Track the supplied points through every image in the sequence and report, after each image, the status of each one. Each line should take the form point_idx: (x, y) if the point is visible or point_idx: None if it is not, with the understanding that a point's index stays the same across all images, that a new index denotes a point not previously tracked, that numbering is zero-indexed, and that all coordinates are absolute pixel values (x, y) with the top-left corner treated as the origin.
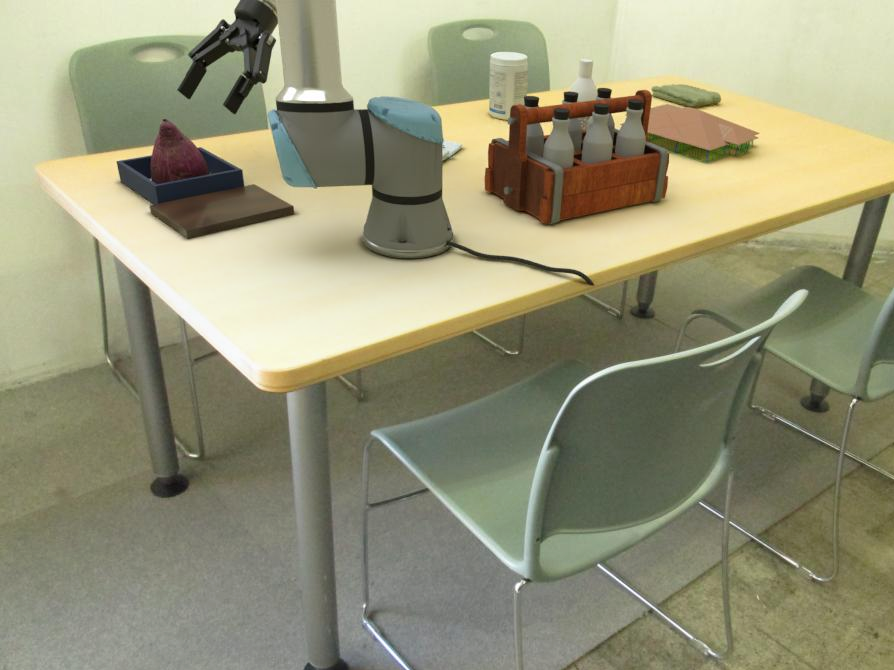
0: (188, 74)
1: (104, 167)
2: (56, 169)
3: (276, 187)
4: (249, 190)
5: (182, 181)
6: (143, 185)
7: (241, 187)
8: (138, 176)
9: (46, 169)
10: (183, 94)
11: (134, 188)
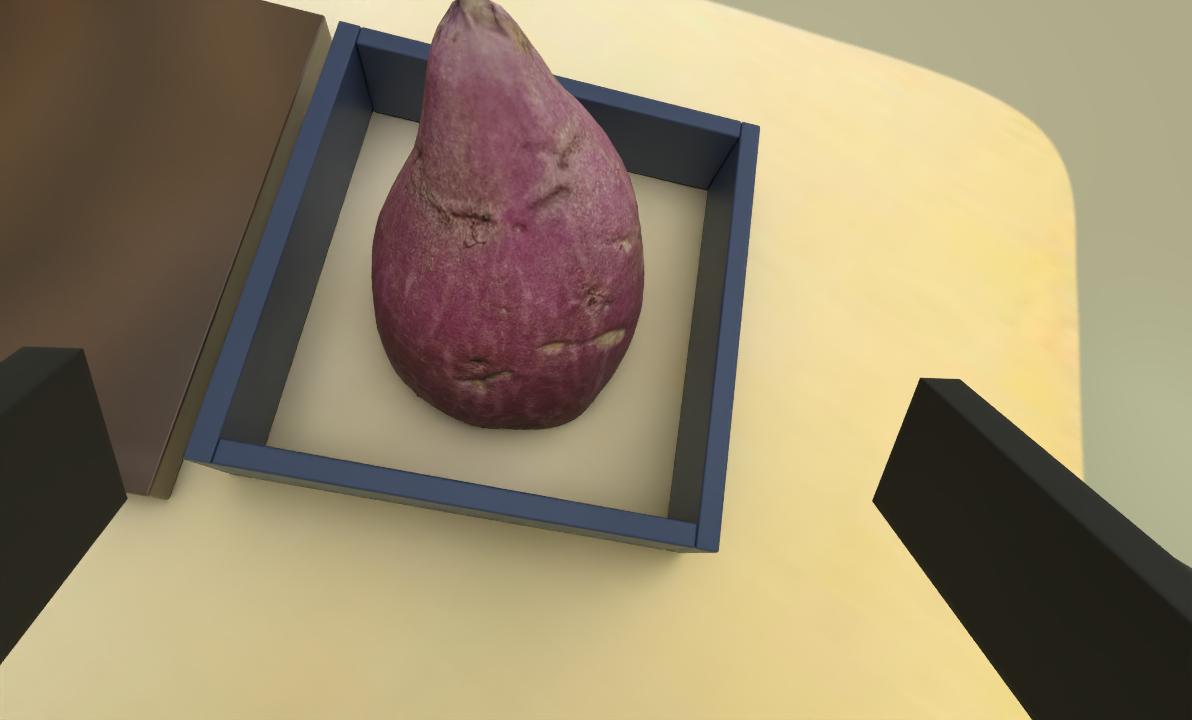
0: (1101, 529)
1: (922, 243)
2: (986, 125)
3: (119, 638)
4: None
5: (300, 133)
6: None
7: (164, 408)
8: None
9: (1002, 106)
10: (906, 434)
11: None
